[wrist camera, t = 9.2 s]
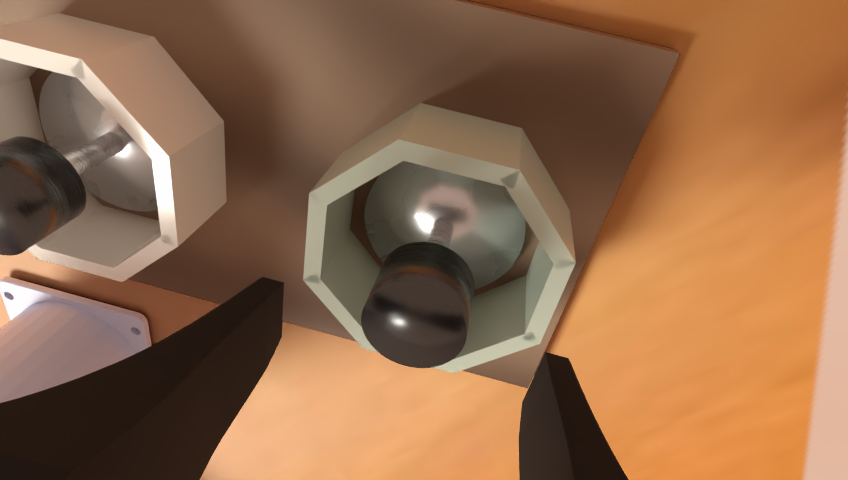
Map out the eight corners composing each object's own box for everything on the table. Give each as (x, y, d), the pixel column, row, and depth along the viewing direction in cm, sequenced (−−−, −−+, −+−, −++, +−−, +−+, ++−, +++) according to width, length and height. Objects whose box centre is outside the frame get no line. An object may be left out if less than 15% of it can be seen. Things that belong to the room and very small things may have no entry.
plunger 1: (198, 222, 21) (96, 314, 16) (64, 186, 22) (-76, 266, 17) (188, 80, 18) (56, 142, 13) (31, 41, 18) (-158, 87, 13)
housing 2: (520, 329, 21) (519, 391, 19) (329, 277, 22) (299, 331, 19) (595, 145, 17) (607, 191, 14) (350, 85, 17) (314, 117, 14)
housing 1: (228, 250, 22) (183, 299, 19) (47, 202, 22) (-22, 242, 20) (221, 53, 17) (161, 79, 15) (-6, -4, 18) (-108, 11, 15)
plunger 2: (500, 302, 21) (490, 424, 16) (358, 264, 21) (304, 372, 16) (547, 171, 17) (553, 272, 12) (378, 128, 18) (317, 211, 13)
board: (527, 378, 24) (527, 388, 23) (47, 247, 25) (37, 254, 24) (675, 49, 15) (680, 53, 15) (-55, -124, 17) (-73, -125, 16)
